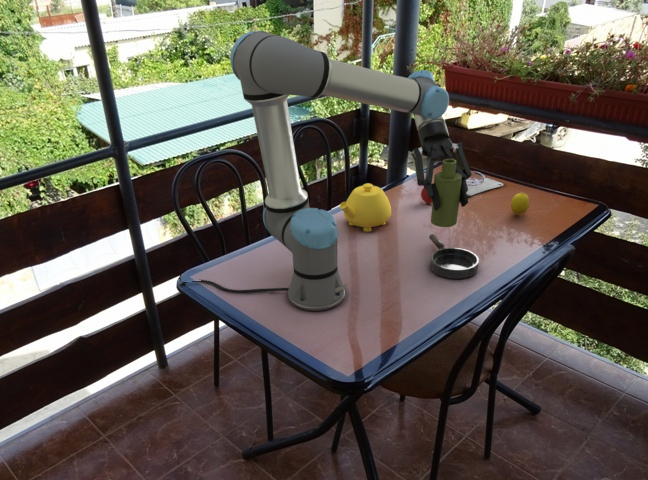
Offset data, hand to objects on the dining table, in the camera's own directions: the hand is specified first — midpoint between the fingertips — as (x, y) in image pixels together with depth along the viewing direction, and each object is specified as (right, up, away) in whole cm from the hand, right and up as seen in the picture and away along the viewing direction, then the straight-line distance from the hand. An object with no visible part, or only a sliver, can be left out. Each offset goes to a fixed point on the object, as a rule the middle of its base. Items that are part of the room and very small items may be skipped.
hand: (451, 206), depth 145 cm
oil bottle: (0, -3, +6) cm, 7 cm away
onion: (+7, +10, +53) cm, 54 cm away
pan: (+5, -15, +14) cm, 21 cm away
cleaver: (+24, +15, +60) cm, 66 cm away
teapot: (-18, 0, +41) cm, 45 cm away
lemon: (+34, +4, +41) cm, 53 cm away
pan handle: (+2, -8, +23) cm, 24 cm away
